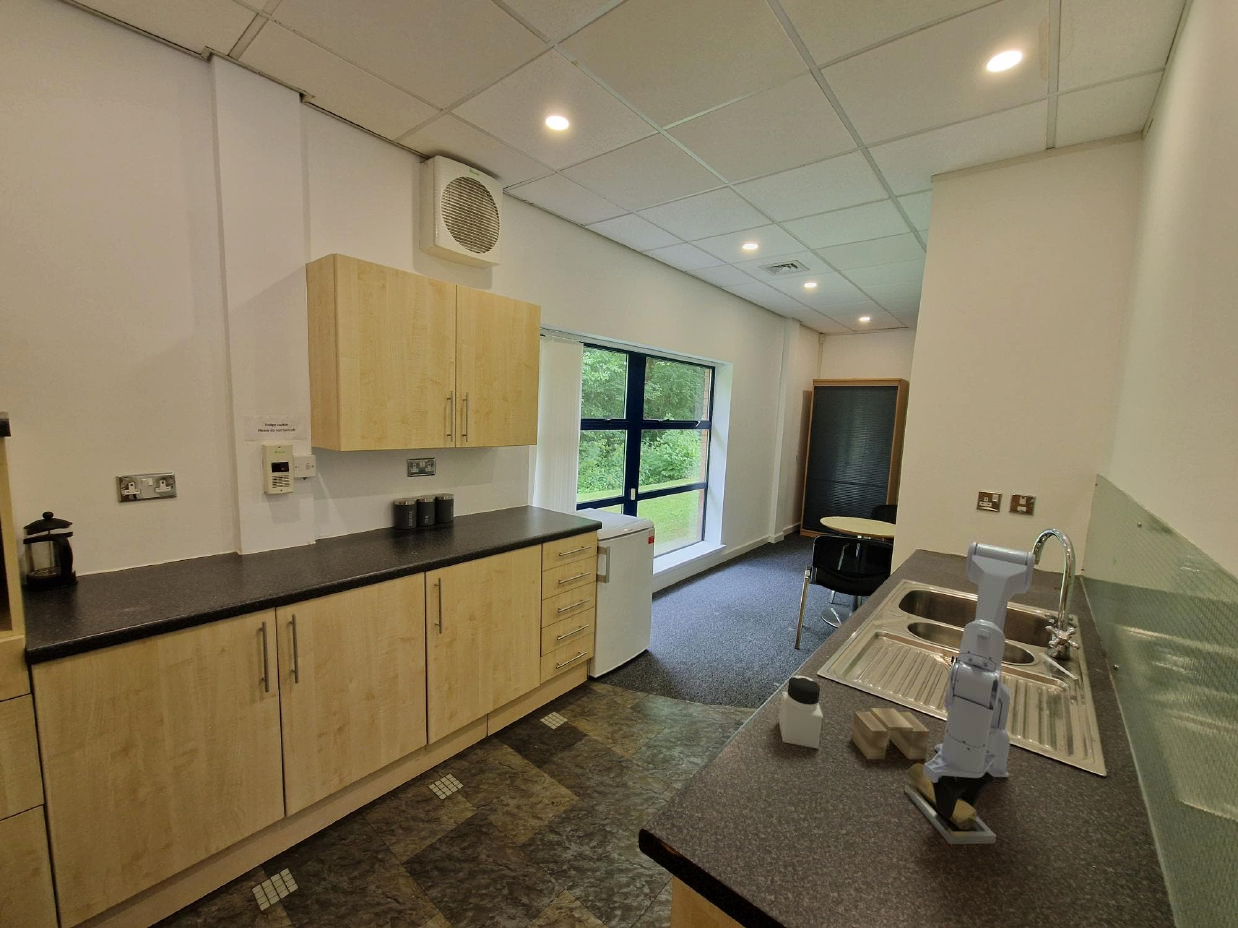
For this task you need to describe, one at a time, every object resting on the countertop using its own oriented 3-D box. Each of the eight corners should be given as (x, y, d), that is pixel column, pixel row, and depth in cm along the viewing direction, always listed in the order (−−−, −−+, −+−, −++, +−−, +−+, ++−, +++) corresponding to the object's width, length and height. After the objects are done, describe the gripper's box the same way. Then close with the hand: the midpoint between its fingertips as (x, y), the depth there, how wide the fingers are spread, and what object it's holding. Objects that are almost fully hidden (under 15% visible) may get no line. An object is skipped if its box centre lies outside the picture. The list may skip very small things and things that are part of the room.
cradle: (945, 790, 90) (946, 783, 89) (994, 843, 79) (996, 835, 79) (904, 790, 89) (905, 783, 89) (949, 843, 78) (950, 836, 78)
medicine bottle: (819, 749, 98) (826, 693, 97) (782, 742, 100) (788, 687, 98) (813, 727, 105) (819, 674, 104) (778, 721, 107) (784, 669, 105)
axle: (905, 784, 89) (908, 764, 89) (922, 781, 91) (925, 761, 90) (956, 831, 80) (959, 810, 79) (974, 827, 81) (978, 805, 81)
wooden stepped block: (905, 738, 104) (909, 708, 103) (925, 758, 98) (930, 727, 97) (851, 738, 102) (855, 707, 102) (867, 758, 97) (872, 726, 96)
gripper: (973, 714, 87) (961, 784, 89) (911, 726, 82) (900, 800, 84) (1016, 740, 80) (1002, 815, 82) (951, 755, 76) (938, 834, 77)
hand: (953, 810), depth 83 cm, fingers closed on axle, 4 cm apart
